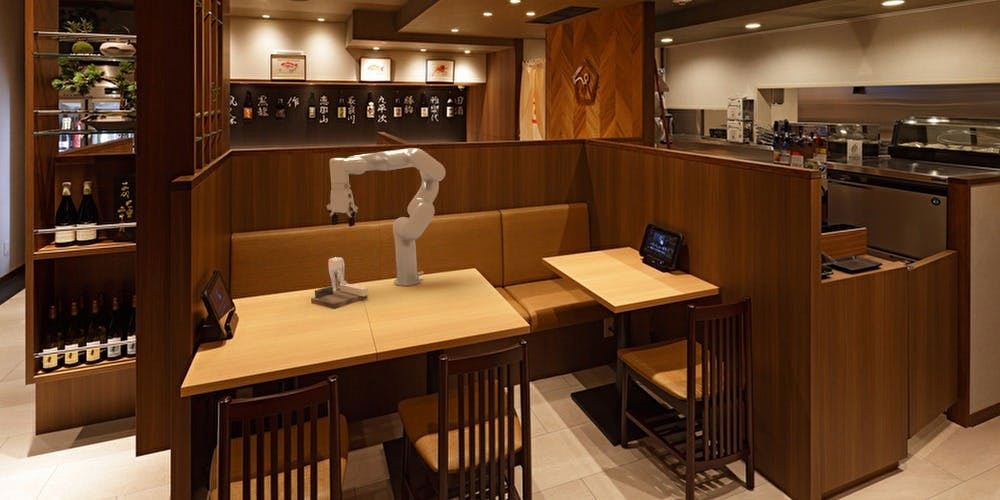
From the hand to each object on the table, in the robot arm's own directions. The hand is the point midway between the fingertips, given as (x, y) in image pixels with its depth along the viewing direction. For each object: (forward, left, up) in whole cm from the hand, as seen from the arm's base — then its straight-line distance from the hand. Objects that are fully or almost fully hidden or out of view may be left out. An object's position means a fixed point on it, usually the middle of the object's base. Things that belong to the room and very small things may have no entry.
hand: (343, 225), depth 250 cm
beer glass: (+1, -6, -31) cm, 32 cm away
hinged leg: (+4, +9, -29) cm, 30 cm away
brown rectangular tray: (+10, +6, -31) cm, 33 cm away
